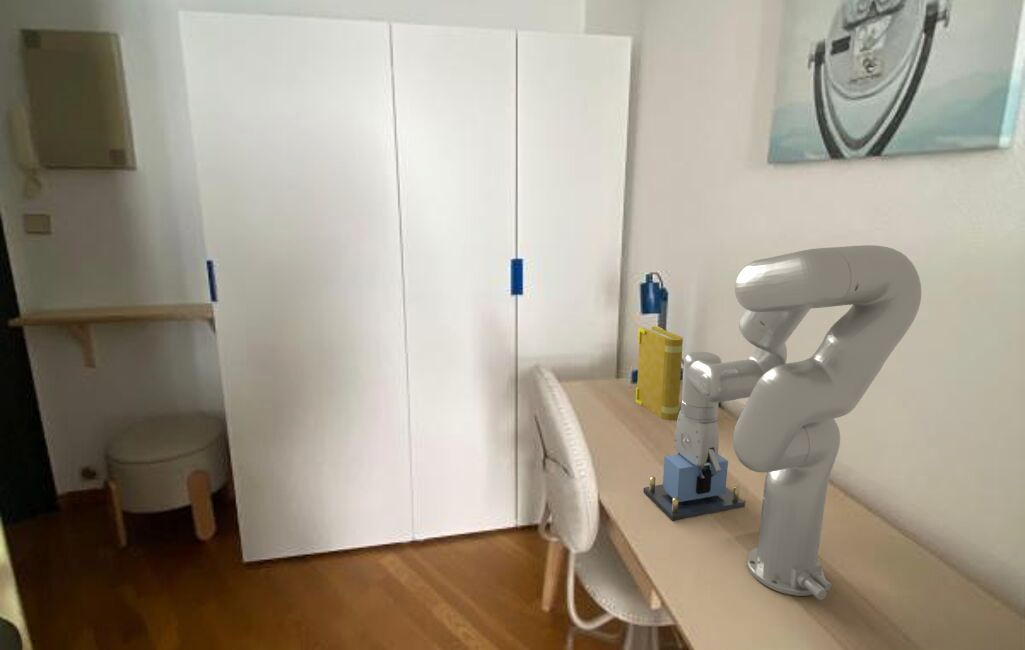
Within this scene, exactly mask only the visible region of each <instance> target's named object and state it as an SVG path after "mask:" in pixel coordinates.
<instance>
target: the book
mask: <svg viewBox="0 0 1025 650" xmlns="http://www.w3.org/2000/svg"><path fill="white" fill-rule="evenodd" d="M637 332H638V334H637V343H638V360H637V361H638V362H637V382H636V383H637V384H636V387H635V399H634V400H635V403H637V404H638V405H640V406H643V407H644V406H645V408H646V409H647V408H648V410H649V411H650V410H651V411H650V412H652V413H654V414H655V415H656V416H658V417H659V418H660V419H664V420H670V419H673V420H677V419H678V415H679V410H680V409H679V406H680V389H681V373H682V361H683V360H682V358H683V342H684V338H683V337H682V336H680V335H677V334H675V333H672V332H670V331H667V330H665V329H664V328H662V327H660V326H651V329H648V328H646V327H638V330H637ZM670 421H671V420H670Z"/></svg>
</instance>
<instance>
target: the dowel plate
mask: <svg viewBox="0 0 1025 650" xmlns="http://www.w3.org/2000/svg"><path fill="white" fill-rule="evenodd" d="M656 481H657V479H656V477H655V476H650V477H649V486H646V487H643V493H644V495H646V497H647V498H648V499H649V500H651V501H652V503H654V505H656V507H658V509H660V511H662V513H664V515H666V516H667V518H669V520H670V521H672V522H675V521H680V520H685V519H686V520H687V519H690V518H697V517H701V516H705V515H711V514H716V513H721V512H726V511H731V510H736V509H742V508H745V507H746V501H744V500H743V499H742V498H741V497H740V486H738V485H734V486H733V491H732V490H730V489H729V488H728V487H726V491H725V494H722V495H717V496H711V497H705V498H700V499H694V500H688V501H683V502H678V500H679V499H678V498H677V497H673V498H672V497H671V496H670V495H669V494H668V493H667V492H666V491H665V490H664V489H663V483H662V484H656Z"/></svg>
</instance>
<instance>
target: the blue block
mask: <svg viewBox="0 0 1025 650" xmlns="http://www.w3.org/2000/svg"><path fill="white" fill-rule="evenodd" d="M717 461H718V463H719V466H720V468H721V471H720V472H718V473H716V474H715V475H714V476H713V477H711V489H710V492H709V493H703V494H697V493H696V488H697V477H698V476H699V470H698V466H695V465H694V464H693V463H691V462H690V461H689V460H687V459H686V458H685V457H683V456H682V455H681V454H678V453H677V454H670V455H665V456H664V458H663V477H662V484H663V489H664V490H665V491H666V492H667V493H668V494H669V495H670V496H671V497H672V498H673V497H677V498H678V499H679V500H678V502H683V501H688V500H694V499H700V498H705V497H711V496H717V495H722V494H725V491H726V488H727V477H728V465H729V460H728V459H726V458H724V457H723V456H722V455H720V454H719V453H718V458H717ZM706 462H707V460H706ZM703 468H704V471H706V470H707V466H703Z"/></svg>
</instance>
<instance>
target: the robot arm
mask: <svg viewBox="0 0 1025 650" xmlns="http://www.w3.org/2000/svg"><path fill="white" fill-rule="evenodd" d="M734 292H735V293H734V294H735V298H736V300H737V302H738V303H739V305H740V306H741V308H744V309H745V311H744V313H743V314H742V316H741V317H740V319H739V322H738V329H739V331H740V332H739V333H740V334H741V335H742V337H743V338H744V339H745V340H746V341H747V342H748V343H750V344H752V345H753V346H754V347H756V348H755V349H754V350H753V352H752V353H751V354H750V355H749V357H748V358H746V359H743V360H736V361H735V360H734V361H726V362H722V359H721V358H720V356H718V355H717V354H715V353H713V352H708V351H695V352H693V351H692V352H689V353H688V354H686V356H684V360H683V361H684V362H683V371H682V372H683V374H682V391H681V407H680V409H679V411H678V418H676V425H675V431H674V432H675V433H674V439H673V443H674V444H673V448H674V449H675V451H676V452H677V454H681V455H682V456H683V457H685V458H686V459H687V460H689V461H690V462H691V463H693V464H694V465H695V466H698V470H699V476H698V477H697V488H696V493H697V494H703V493H709V492H710V489H711V477H713V476H714V475H715V474H716V473H718V472H720V471H721V468H720V466H719V463H718V461H717V458H718V454H719V447H720V446H719V444H720V443H719V442H720V441H719V438H720V436H719V425H718V423H719V422H718V414H719V404H720V403H725V402H730V401H735V400H740V399H741V400H742V399H746V398H748V399H747V401H746V404H745V405H744V408H742V412H741V413H740V415H739V417H738V420H737V422H736V424H735V427H734V429H733V435H732V445H733V450H734V451H733V452H734V453H735V455H736V458H737V459H738V461H739V462H740V463H741V465H743V466H744V467H745V468H747V469H748V470H750V471H753V472H757V473H766V474H765V478H764V479H765V480H764V485H763V486H764V487H763V495H762V496H763V497H762V505H761V515H760V524H759V525H760V526H759V534H758V543H757V544H758V545H757V547H755V548H752V549H751V550H750V551H749V553H748V555H747V558H746V565H747V568H748V570H749V572H750V573H751V575H752V576H753V577H754V578H755V579H756V580H758V581H759V582H760V583H761V584H763V585H764V586H766V587H767V588H769V589H772V590H774V591H777V592H778V593H781V594H785V595H790V596H797V597H798V596H799V597H800V596H801V597H802V596H803V597H804V596H805V597H806V596H814V597H815V598H816V599H818V600H819V601H820V600H821V601H822V600H824V599H825V598H826V597H827V594H828V592H827V591H829V590H831V589H832V587H833V585H832V583H831V582H829V580H828V579H826V577H825V575H826V574H825V573H824V570H823V569H822V568H823V564H822V563H821V562H819V560H818V558H819V556H818V555H819V548H820V541H821V534H822V527H823V526H822V525H823V519H824V513H825V512H824V511H825V504H826V498H827V492H828V486H829V481H830V476H831V473H832V470H833V467H834V464H835V461H836V459H837V457H838V453H839V449H840V447H841V431H840V427H839V425H838V423H837V421H836V419H838V418H841V417H843V416H846V415H848V414H850V413H851V412H852V411H853V410H854V409H855V408H856V407H857V405H858V404H859V402H860V401H861V400H862V399H863V397H864V395H865V394H866V392H867V391H868V389H869V388H870V386H871V384H872V383H873V381H875V379H876V377H877V376H878V374H879V373H880V371H881V370H882V368H883V367H884V364H885V363H886V362H887V360H888V358H889V356H891V354H892V353H893V352H894V350H895V349H896V347H897V346H898V344H899V343H900V342H901V341H902V339H903V338H904V336H905V335H906V334H907V332H908V330H910V328H911V326H912V324H913V323H914V321H915V319H916V317H917V315H918V312H919V309H920V306H921V300H922V284H921V280H920V275H919V273H918V270H917V268H916V267H915V265H914V264H913V262H912V261H911V260H910V259H909V258H908V257H907V256H906V254H904V253H902V252H901V251H900V250H896V249H894V248H891V247H888V246H884V245H883V246H882V245H875V244H874V245H872V244H866V245H865V244H864V245H850V246H849V245H848V246H833V247H819V248H809V249H804V250H798V251H795V252H789V253H786V254H781V255H776V256H772V257H768V258H761V259H760V258H759V259H757V260H753V261H752V262H750V263H748V264H747V265H745V266H744V267H743V268H742V269H741V271H740V272H739V273H738V275H737V277H736V280H735V283H734ZM841 306H851V307H850V308H849V309H848V310H847V312H846V313H844V314H843V315H842V316H841V317H840V318H839V319H837V321H835V322H834V323H833V325H831V327H830V328H829V330H828V331H827V332H826V334H825V336H824V338H823V340H822V342H821V343H820V345H819V347H818V348H817V349H816V351H815V352H814V354H813V355H812V356H811V357H809V358H807V359H804V360H800V361H794V362H788V363H787V357H788V350H787V349H788V348H787V345H786V342H787V341H788V340H789V338H790V337H791V336H792V334H793V333H794V332H795V330H796V329H797V328H798V326H799V325H800V323H802V321H803V320H804V318H805V317H806V316H807V314H808V313H809V312H810V310H811V309H820V308H822V309H823V308H831V307H841ZM706 460H707V462H706ZM703 466H707V470H706V471H704V468H703Z"/></svg>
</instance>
